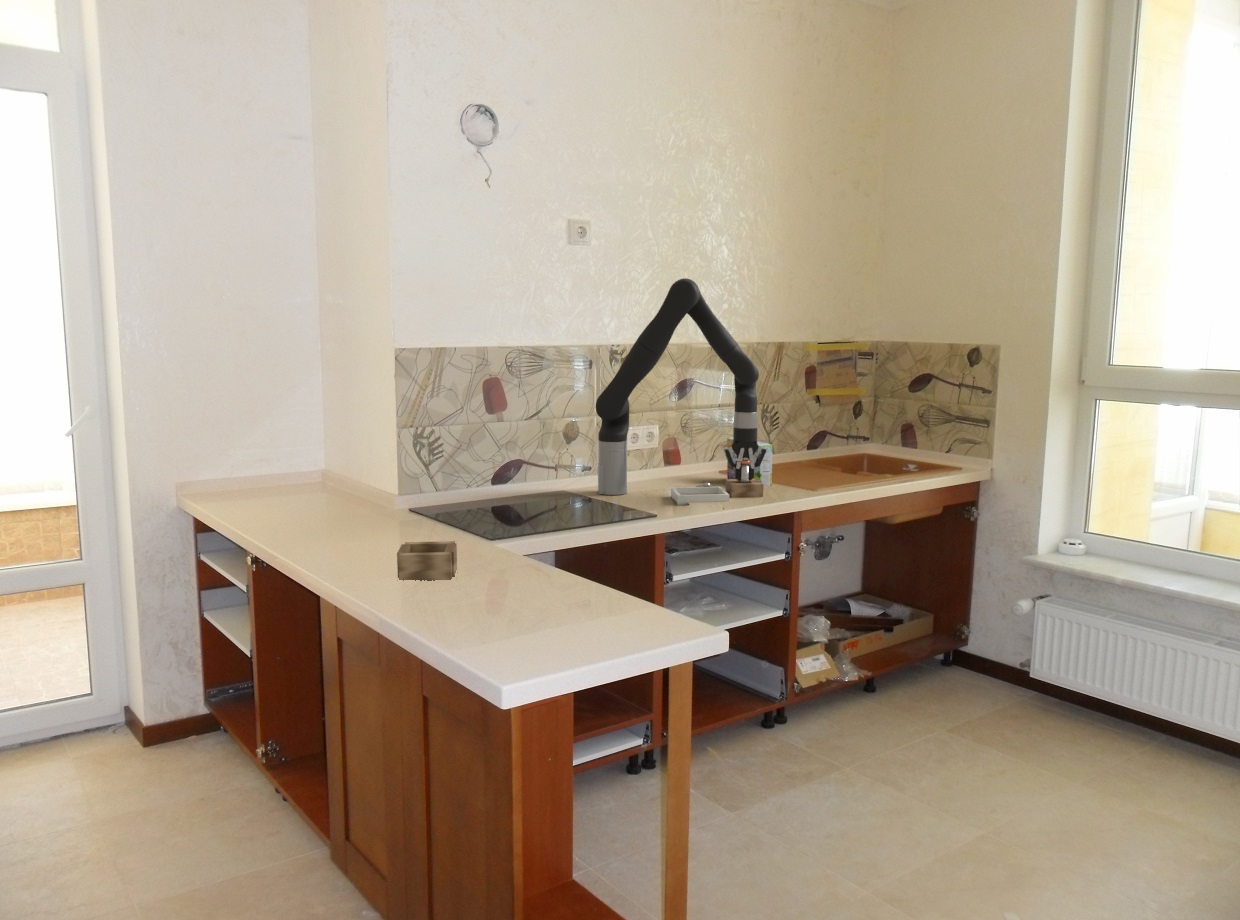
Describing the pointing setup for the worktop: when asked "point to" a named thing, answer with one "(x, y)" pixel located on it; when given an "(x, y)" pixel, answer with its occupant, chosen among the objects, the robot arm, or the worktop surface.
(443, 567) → the box
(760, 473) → the snack box
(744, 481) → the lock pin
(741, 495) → the wooden box
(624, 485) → the robot arm
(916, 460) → the worktop surface
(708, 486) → the pulley
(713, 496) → the tray
